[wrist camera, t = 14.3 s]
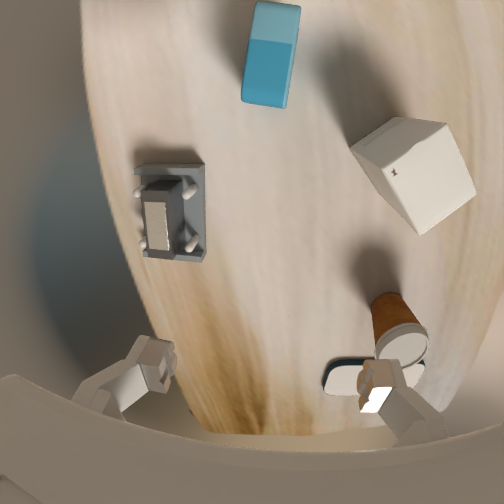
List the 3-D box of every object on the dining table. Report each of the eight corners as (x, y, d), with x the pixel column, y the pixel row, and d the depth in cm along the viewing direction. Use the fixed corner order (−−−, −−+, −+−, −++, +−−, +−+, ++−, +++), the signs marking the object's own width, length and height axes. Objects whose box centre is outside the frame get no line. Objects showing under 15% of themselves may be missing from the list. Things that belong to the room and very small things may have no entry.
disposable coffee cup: (352, 307, 50) (364, 356, 39) (394, 274, 46) (416, 319, 35) (380, 333, 52) (393, 380, 41) (419, 304, 48) (440, 349, 37)
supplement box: (380, 197, 40) (418, 240, 27) (347, 147, 38) (378, 168, 24) (425, 166, 37) (479, 195, 24) (396, 114, 34) (447, 121, 21)
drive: (158, 179, 42) (140, 190, 36) (183, 179, 41) (167, 191, 36) (162, 239, 46) (147, 257, 41) (185, 241, 46) (172, 260, 41)
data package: (265, 26, 31) (256, -4, 20) (298, 31, 31) (302, 1, 20) (252, 104, 36) (239, 101, 26) (285, 109, 36) (285, 107, 26)
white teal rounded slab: (427, 356, 54) (430, 362, 53) (409, 386, 60) (411, 392, 58) (330, 357, 56) (331, 364, 55) (320, 389, 62) (320, 396, 60)
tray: (143, 163, 42) (127, 171, 37) (204, 164, 41) (194, 171, 37) (151, 247, 49) (138, 262, 44) (206, 253, 48) (197, 269, 43)
